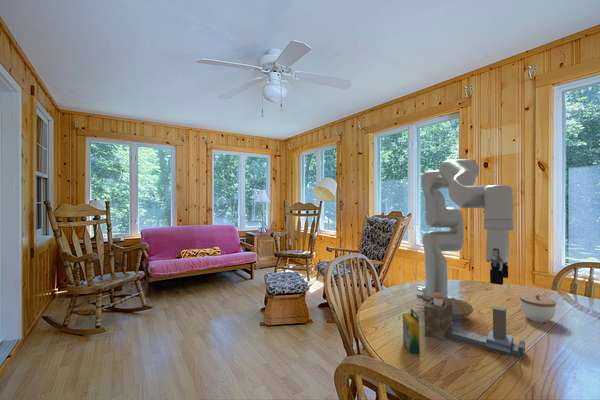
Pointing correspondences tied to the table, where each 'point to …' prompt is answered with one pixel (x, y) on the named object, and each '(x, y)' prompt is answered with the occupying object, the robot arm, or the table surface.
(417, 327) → the crayon box
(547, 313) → the lidded jar
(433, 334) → the end cabinet
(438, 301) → the orange and grey cylinder
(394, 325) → the table surface
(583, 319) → the table surface
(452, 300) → the nautilus
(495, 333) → the carriage
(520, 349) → the rail
